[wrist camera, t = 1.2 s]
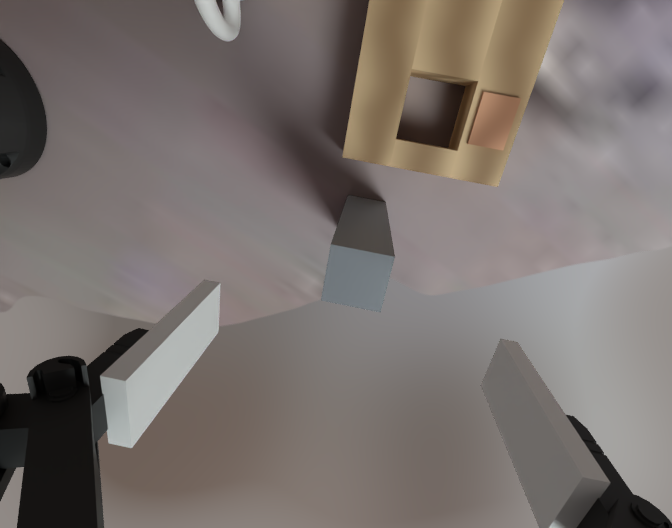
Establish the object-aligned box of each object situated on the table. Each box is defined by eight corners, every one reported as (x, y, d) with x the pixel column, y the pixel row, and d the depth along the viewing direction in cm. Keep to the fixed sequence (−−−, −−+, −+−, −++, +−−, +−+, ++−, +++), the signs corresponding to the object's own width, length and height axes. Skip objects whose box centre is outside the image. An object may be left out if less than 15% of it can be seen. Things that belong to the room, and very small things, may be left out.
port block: (345, 153, 34) (341, 157, 30) (398, -148, 26) (403, -197, 22) (484, 180, 34) (498, 187, 30) (584, -117, 25) (623, -162, 21)
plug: (341, 230, 37) (321, 300, 23) (348, 194, 36) (330, 244, 21) (377, 238, 37) (380, 312, 23) (385, 202, 36) (394, 256, 21)
